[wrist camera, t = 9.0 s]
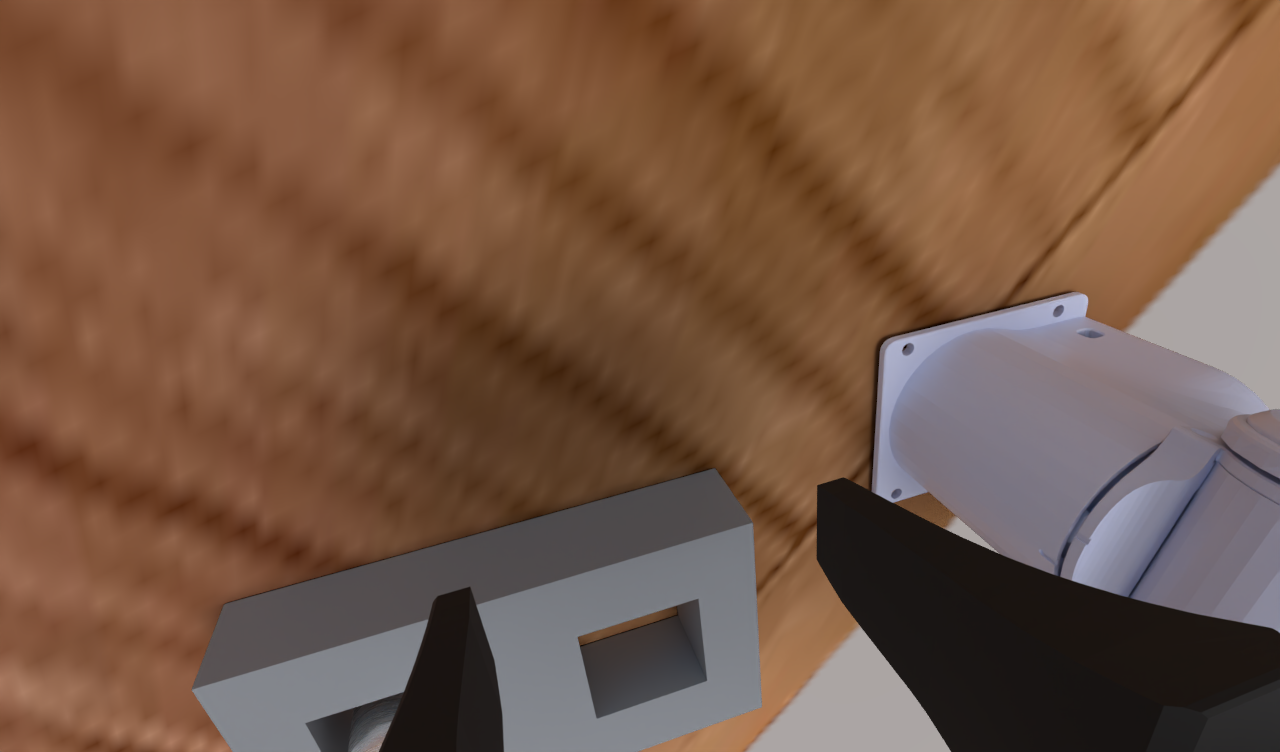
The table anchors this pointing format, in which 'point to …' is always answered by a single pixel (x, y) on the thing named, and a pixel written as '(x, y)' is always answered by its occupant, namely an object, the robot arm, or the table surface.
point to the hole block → (516, 629)
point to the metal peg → (372, 723)
